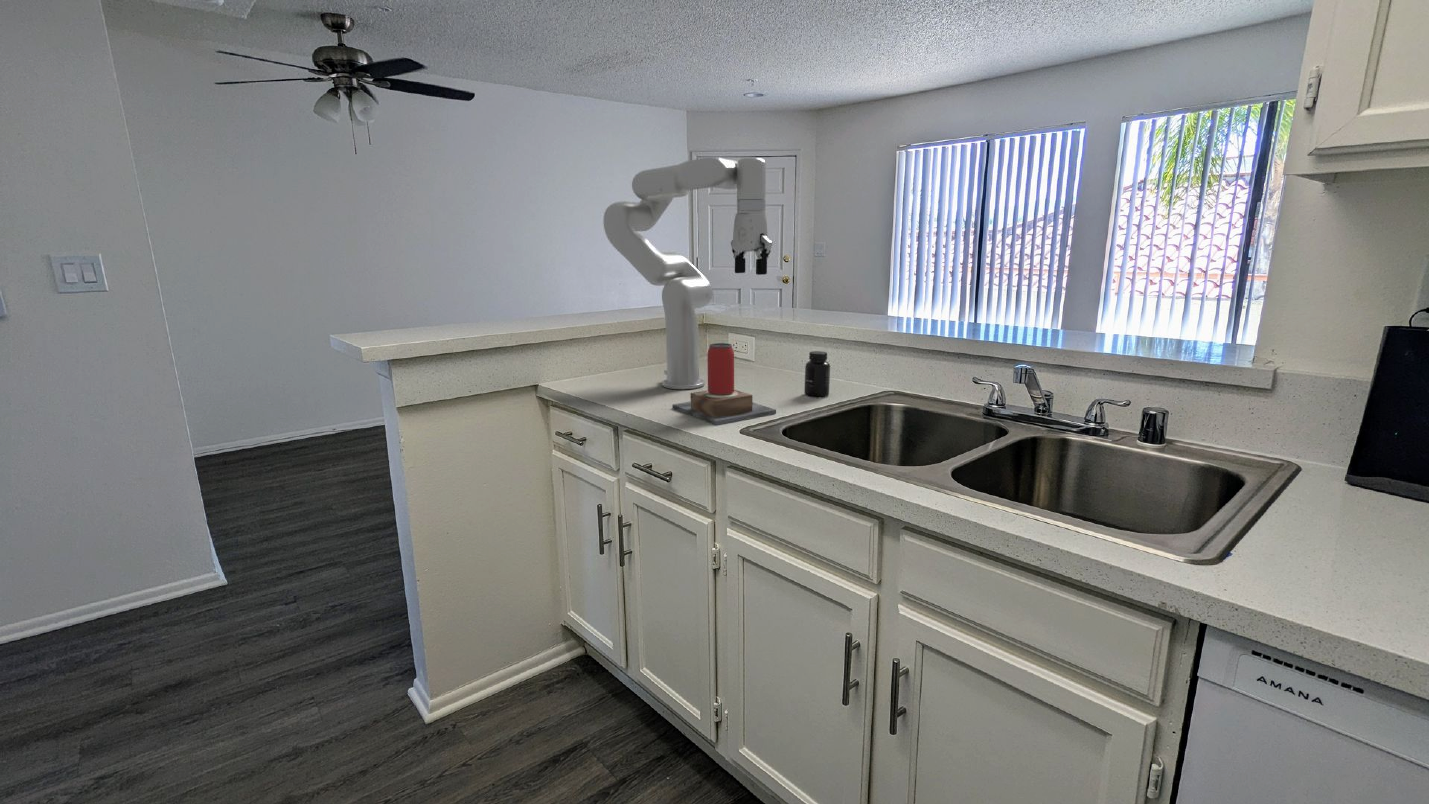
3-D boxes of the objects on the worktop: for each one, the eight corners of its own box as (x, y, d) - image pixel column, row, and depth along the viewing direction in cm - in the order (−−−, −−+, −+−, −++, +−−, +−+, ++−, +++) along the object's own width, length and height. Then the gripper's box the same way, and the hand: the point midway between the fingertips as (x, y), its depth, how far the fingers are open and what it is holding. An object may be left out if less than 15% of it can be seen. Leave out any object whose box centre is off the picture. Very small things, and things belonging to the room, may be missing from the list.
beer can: (732, 396, 162) (732, 347, 159) (705, 395, 163) (704, 346, 160) (736, 390, 169) (735, 343, 166) (710, 389, 170) (709, 342, 167)
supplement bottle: (801, 396, 184) (802, 353, 181) (807, 391, 190) (808, 349, 187) (826, 398, 181) (827, 355, 179) (831, 393, 188) (833, 351, 185)
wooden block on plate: (672, 408, 173) (671, 388, 171) (729, 398, 183) (729, 379, 181) (716, 425, 157) (716, 403, 155) (776, 413, 166) (776, 393, 165)
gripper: (721, 208, 182) (721, 272, 186) (759, 206, 168) (758, 275, 172) (743, 209, 186) (743, 272, 190) (782, 206, 172) (781, 274, 176)
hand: (750, 273), depth 181 cm, fingers open, 9 cm apart
